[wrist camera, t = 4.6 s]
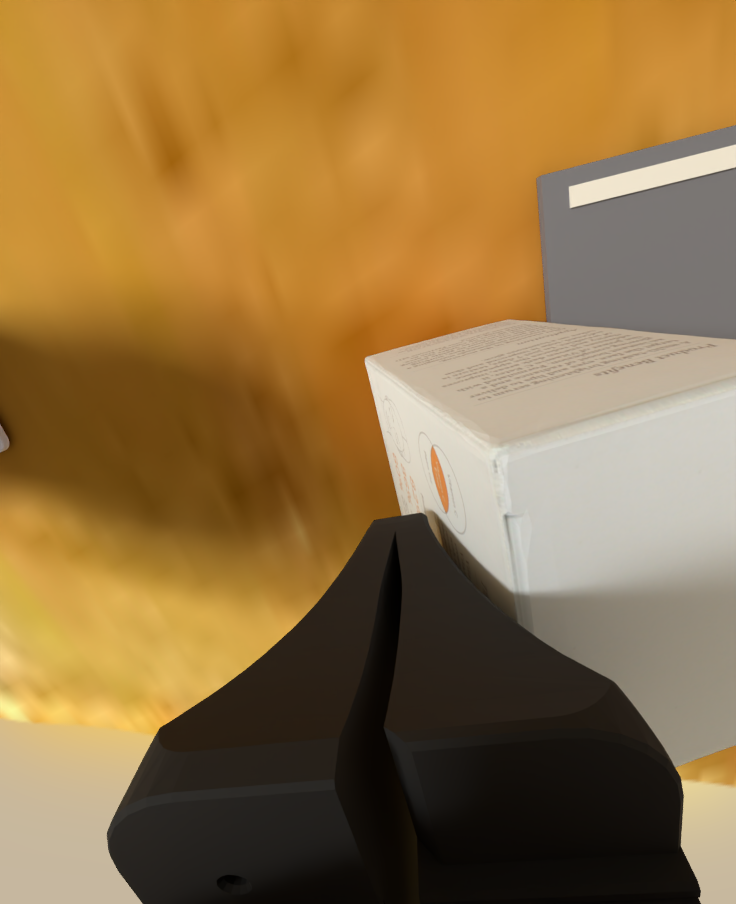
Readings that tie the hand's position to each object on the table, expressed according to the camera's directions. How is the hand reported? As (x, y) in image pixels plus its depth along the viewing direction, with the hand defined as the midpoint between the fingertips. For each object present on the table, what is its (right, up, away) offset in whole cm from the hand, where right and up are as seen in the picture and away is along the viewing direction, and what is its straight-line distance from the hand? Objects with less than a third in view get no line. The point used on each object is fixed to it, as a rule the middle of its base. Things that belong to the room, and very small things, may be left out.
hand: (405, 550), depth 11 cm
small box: (+2, +3, +6) cm, 7 cm away
